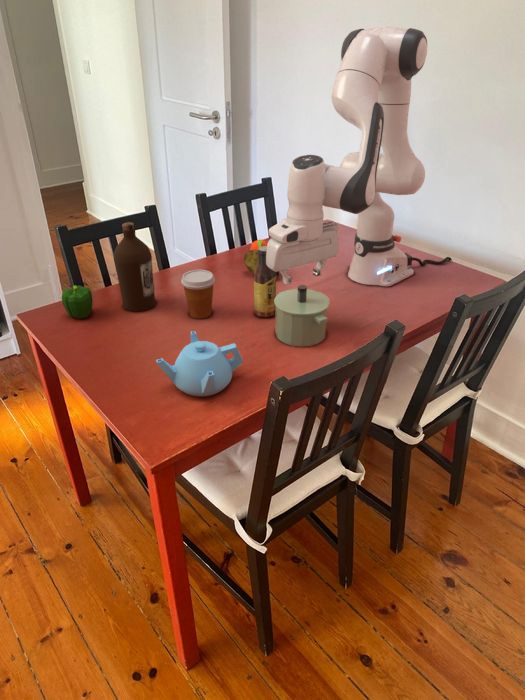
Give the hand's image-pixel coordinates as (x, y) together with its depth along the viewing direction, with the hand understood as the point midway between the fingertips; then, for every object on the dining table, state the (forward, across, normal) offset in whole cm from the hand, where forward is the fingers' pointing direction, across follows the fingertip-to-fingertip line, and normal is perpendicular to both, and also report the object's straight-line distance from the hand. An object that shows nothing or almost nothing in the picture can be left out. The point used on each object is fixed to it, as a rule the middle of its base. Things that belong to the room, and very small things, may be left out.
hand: (302, 279), depth 136 cm
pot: (+16, 0, 0) cm, 16 cm away
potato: (+16, -11, -38) cm, 43 cm away
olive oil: (+17, +31, -40) cm, 53 cm away
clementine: (+16, -18, -50) cm, 56 cm away
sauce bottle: (+16, +2, -15) cm, 22 cm away
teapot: (+17, +33, +6) cm, 37 cm away
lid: (+7, 0, 0) cm, 7 cm away
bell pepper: (+17, +48, -43) cm, 66 cm away
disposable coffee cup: (+16, +18, -25) cm, 35 cm away
